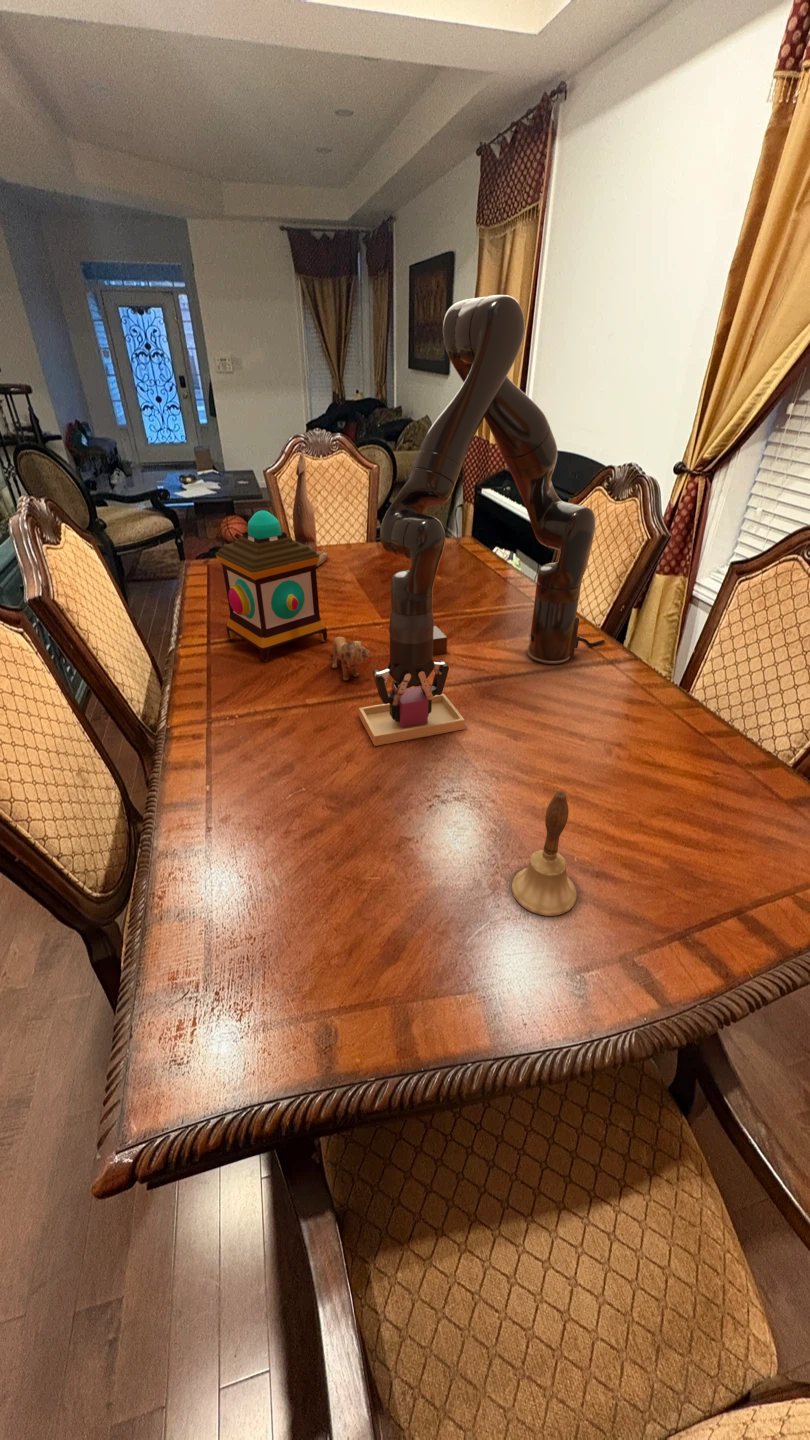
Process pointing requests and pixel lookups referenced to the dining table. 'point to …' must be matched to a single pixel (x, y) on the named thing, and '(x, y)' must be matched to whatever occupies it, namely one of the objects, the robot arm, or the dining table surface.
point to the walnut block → (439, 642)
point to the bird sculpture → (305, 514)
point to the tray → (390, 731)
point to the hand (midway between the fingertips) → (410, 716)
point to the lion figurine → (348, 655)
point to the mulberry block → (413, 708)
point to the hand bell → (547, 869)
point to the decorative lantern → (270, 586)
